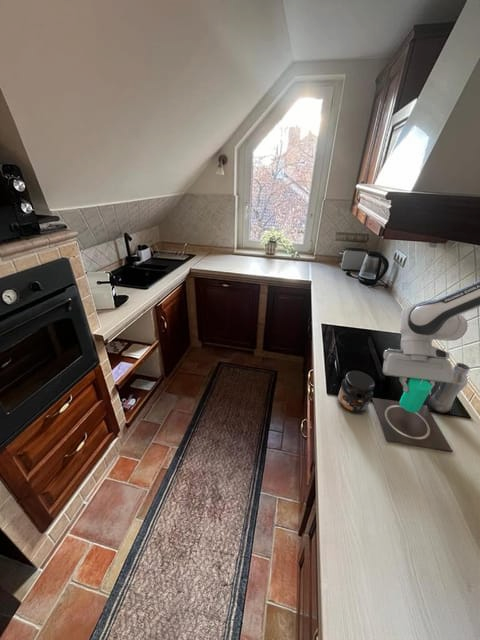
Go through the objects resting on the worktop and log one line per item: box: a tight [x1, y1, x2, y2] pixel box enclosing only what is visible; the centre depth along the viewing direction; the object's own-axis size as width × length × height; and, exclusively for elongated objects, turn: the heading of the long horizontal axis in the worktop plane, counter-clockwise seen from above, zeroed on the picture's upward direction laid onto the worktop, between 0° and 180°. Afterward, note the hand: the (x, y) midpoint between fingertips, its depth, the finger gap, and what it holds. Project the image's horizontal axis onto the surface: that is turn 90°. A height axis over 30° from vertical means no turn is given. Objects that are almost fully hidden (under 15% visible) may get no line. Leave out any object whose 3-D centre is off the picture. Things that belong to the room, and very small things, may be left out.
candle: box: [398, 378, 433, 413], centre depth 84 cm, size 6×6×12 cm
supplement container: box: [337, 370, 376, 415], centre depth 91 cm, size 10×10×12 cm
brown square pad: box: [371, 397, 453, 453], centre depth 87 cm, size 19×18×1 cm
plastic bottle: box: [428, 362, 471, 414], centre depth 88 cm, size 6×7×20 cm
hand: (417, 393), depth 83 cm, fingers closed on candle, 5 cm apart
